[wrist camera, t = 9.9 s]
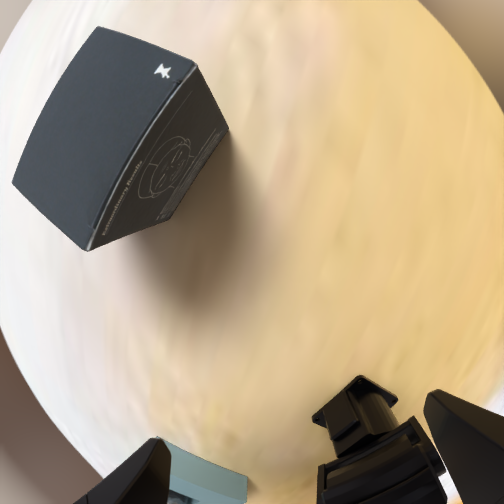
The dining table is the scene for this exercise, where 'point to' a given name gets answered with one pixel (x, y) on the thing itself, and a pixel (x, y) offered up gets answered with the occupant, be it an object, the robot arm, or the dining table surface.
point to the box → (119, 139)
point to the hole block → (204, 480)
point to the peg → (176, 498)
